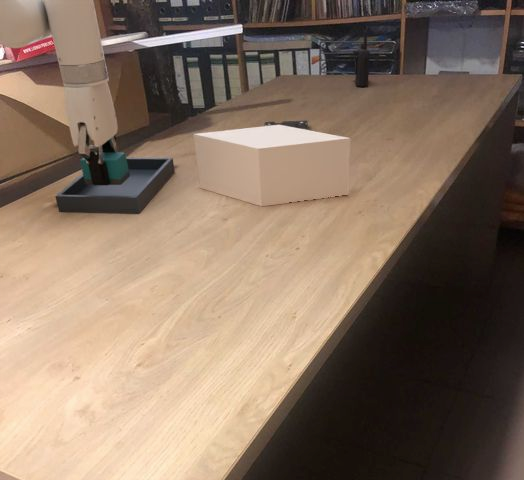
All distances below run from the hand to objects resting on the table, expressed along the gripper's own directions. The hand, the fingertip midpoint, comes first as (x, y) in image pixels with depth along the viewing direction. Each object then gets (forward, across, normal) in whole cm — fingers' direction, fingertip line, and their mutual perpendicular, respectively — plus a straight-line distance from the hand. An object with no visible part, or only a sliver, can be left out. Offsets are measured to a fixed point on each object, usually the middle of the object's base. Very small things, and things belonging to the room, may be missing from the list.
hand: (107, 178), depth 110 cm
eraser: (0, 0, 0) cm, 0 cm away
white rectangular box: (+5, -6, +30) cm, 31 cm away
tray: (+4, -5, 0) cm, 6 cm away
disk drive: (+5, -37, +28) cm, 46 cm away
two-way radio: (+5, -92, +42) cm, 101 cm away
